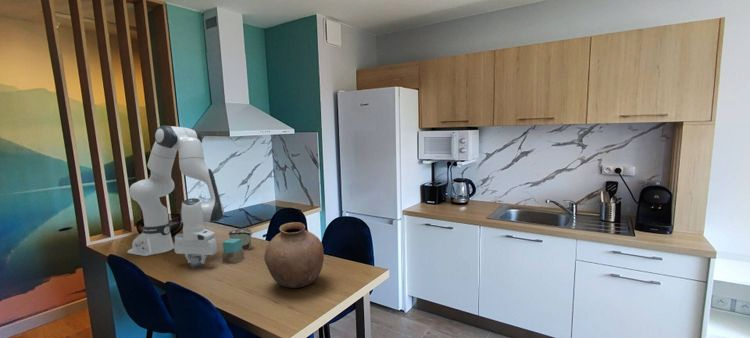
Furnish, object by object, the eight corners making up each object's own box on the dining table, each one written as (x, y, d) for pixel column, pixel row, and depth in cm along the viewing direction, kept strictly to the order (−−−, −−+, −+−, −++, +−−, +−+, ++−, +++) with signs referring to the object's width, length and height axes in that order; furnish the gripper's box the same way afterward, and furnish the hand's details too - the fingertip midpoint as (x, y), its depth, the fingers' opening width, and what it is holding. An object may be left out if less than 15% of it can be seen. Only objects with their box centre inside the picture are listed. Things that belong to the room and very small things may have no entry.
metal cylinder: (188, 268, 165) (187, 257, 165) (196, 264, 170) (195, 253, 170) (198, 268, 164) (197, 258, 164) (205, 264, 169) (204, 254, 169)
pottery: (300, 268, 160) (297, 214, 157) (337, 281, 146) (334, 221, 143) (255, 287, 143) (250, 226, 140) (291, 303, 128) (287, 236, 125)
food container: (257, 246, 193) (255, 228, 192) (252, 250, 187) (250, 231, 186) (235, 246, 195) (233, 228, 193) (229, 250, 188) (228, 231, 187)
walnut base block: (222, 263, 171) (221, 253, 170) (231, 257, 177) (230, 248, 177) (235, 263, 169) (234, 253, 169) (244, 258, 176) (243, 248, 175)
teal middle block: (223, 252, 171) (222, 242, 170) (231, 248, 176) (230, 238, 176) (234, 253, 169) (234, 242, 169) (242, 248, 175) (241, 238, 175)
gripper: (169, 235, 165) (172, 264, 166) (209, 236, 160) (211, 266, 162) (179, 231, 171) (182, 259, 172) (217, 232, 166) (220, 261, 168)
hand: (196, 262), depth 167 cm, fingers closed on metal cylinder, 5 cm apart
